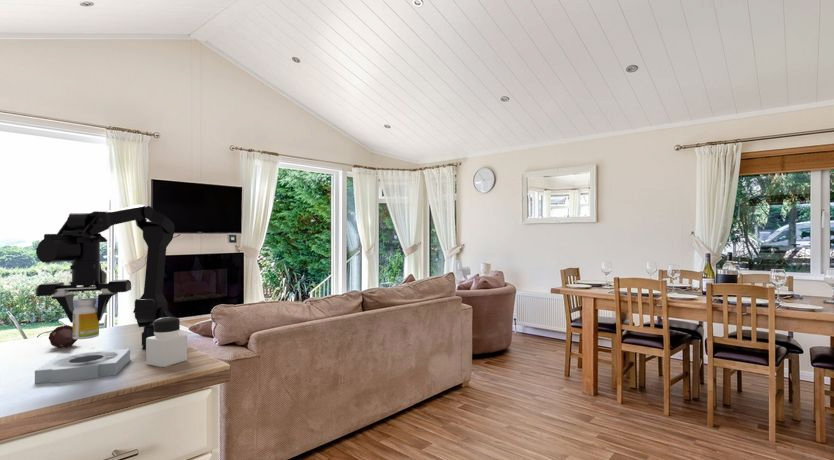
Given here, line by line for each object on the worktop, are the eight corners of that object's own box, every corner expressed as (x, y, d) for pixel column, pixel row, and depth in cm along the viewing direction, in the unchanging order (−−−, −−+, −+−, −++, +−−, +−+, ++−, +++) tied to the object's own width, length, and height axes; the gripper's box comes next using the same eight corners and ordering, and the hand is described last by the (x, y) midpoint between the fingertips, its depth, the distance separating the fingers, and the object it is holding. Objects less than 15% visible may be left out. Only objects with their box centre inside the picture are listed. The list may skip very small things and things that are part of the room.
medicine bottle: (187, 360, 119) (187, 316, 119) (163, 367, 112) (163, 321, 112) (170, 357, 122) (170, 314, 122) (145, 364, 115) (145, 319, 115)
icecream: (86, 327, 133) (76, 325, 143) (56, 325, 128) (48, 322, 138) (80, 350, 131) (70, 346, 141) (49, 349, 126) (41, 345, 136)
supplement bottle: (104, 335, 113) (104, 297, 113) (86, 340, 108) (86, 300, 108) (85, 334, 114) (85, 297, 114) (66, 339, 108) (67, 300, 108)
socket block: (131, 358, 121) (131, 347, 121) (114, 376, 106) (114, 363, 106) (60, 365, 115) (60, 354, 115) (32, 384, 100) (32, 371, 100)
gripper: (136, 257, 122) (136, 313, 122) (54, 259, 115) (54, 318, 115) (125, 259, 111) (125, 320, 111) (34, 262, 105) (34, 326, 104)
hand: (86, 321), depth 111 cm, fingers closed on supplement bottle, 5 cm apart
